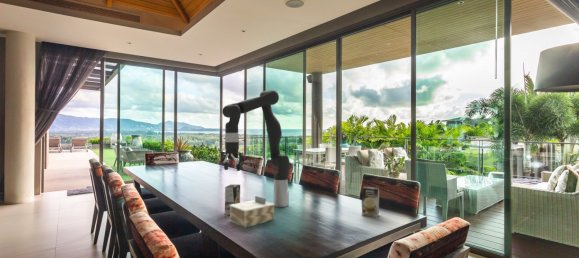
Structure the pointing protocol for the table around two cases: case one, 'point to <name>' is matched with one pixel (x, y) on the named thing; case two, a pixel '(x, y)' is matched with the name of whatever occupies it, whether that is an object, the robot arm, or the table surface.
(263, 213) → the wooden box
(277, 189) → the robot arm
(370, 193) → the coffee box
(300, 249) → the table surface
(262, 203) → the lid
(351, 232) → the table surface
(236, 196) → the coffee box
